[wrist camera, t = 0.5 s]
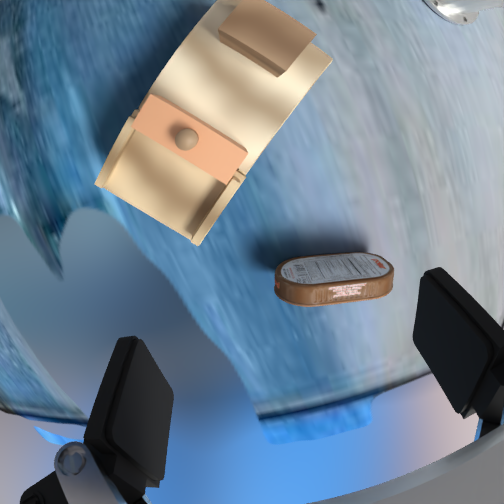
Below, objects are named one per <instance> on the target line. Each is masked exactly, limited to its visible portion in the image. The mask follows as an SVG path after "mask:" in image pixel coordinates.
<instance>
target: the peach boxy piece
mask: <svg viewBox="0 0 504 504" xmlns="http://www.w3.org/2000/svg"><path fill="white" fill-rule="evenodd" d="M131 127H132V128H133V129H135V130H137V131H139V132H140V133H142V134H144V135H145V136H147V137H149V138H150V139H152V140H154V141H156V142H157V143H159V144H161V145H162V146H164V147H166V148H167V149H169V150H171V151H172V152H174V153H176V154H177V155H179V156H180V157H182V158H184V159H185V160H187V161H189V162H190V163H192V164H194V165H195V166H197V167H198V168H200V169H202V170H203V171H205V172H206V173H208V174H210V175H211V176H213V177H214V178H216V179H218V180H219V181H221V182H222V183H224V184H226V185H227V183H228V182H229V180H230V179H231V178H232V176H233V175H234V173H235V172H236V170H237V169H238V168H239V166H240V165H241V163H242V162H243V161H244V159H245V158H246V156H247V155H248V151H247V149H246V148H245V147H243V146H242V145H240V144H239V143H237V142H236V141H234V140H233V139H231V138H229V137H228V136H226V135H225V134H223V133H222V132H220V131H219V130H217V129H215V128H214V127H212V126H211V125H209V124H207V123H206V122H204V121H202V120H201V119H199V118H198V117H196V116H194V115H193V114H191V113H189V112H188V111H186V110H184V109H182V108H181V107H179V106H177V105H176V104H174V103H172V102H170V101H169V100H167V99H165V98H163V97H162V96H159V95H154V94H150V95H149V97H148V99H147V100H146V102H145V103H144V105H143V107H142V108H141V110H140V112H139V113H138V115H137V117H136V118H135V120H134V122H133V124H132V125H131Z"/></svg>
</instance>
